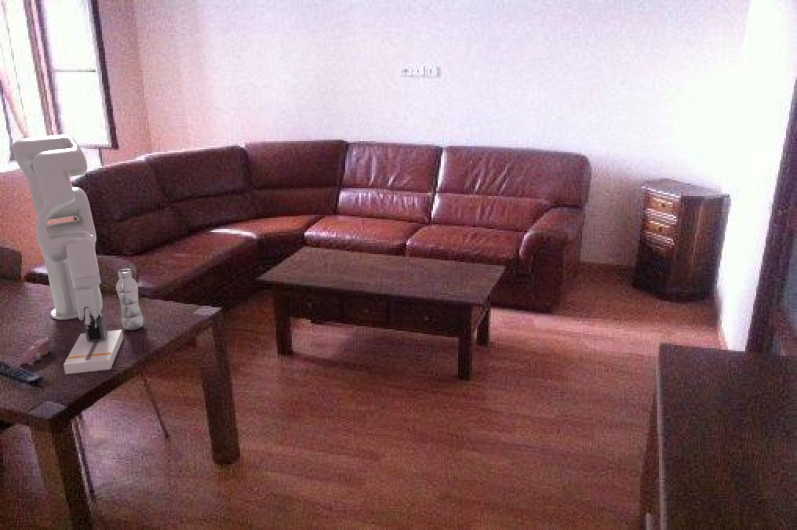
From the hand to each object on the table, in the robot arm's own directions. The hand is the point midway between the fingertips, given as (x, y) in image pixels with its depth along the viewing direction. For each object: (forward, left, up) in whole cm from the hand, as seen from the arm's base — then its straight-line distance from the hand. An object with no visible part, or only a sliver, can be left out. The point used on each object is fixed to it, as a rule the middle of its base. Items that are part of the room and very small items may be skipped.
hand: (97, 335), depth 195 cm
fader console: (+5, 0, -4) cm, 6 cm away
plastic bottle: (-12, +8, -4) cm, 15 cm away
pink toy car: (+2, -16, -5) cm, 17 cm away
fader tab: (0, 0, -1) cm, 1 cm away
